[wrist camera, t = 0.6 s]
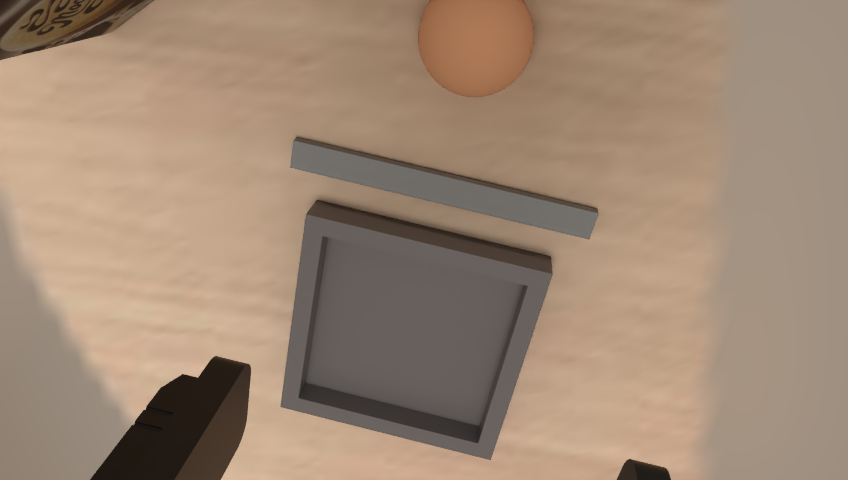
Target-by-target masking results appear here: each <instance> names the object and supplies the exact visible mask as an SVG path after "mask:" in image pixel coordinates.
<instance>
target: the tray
mask: <svg viewBox="0 0 848 480" xmlns="http://www.w3.org/2000/svg"><path fill="white" fill-rule="evenodd" d="M551 277H552V264H551V257H550V256H546V255H542V254H537V253H533V252H529V251H525V250H521V249H517V248H513V247H508V246H504V245H500V244H496V243H492V242H488V241H484V240H480V239H475V238H471V237H467V236H463V235H459V234H455V233H451V232H447V231H442V230H438V229H434V228H430V227H426V226H422V225H418V224H413V223H409V222H405V221H401V220H397V219H393V218H389V217H385V216H380V215H376V214H372V213H368V212H364V211H360V210H356V209H351V208H347V207H343V206H339V205H335V204H331V203H327V202H323V201H318V200H317V201H316V202H315V203H314V205H313V206H312V207H311V209H310V210H309V211H308V213H307V214H306V219H305V227H304V234H303V242H302V249H301V257H300V264H299V272H298V279H297V287H296V294H295V302H294V309H293V317H292V324H291V332H290V339H289V347H288V354H287V362H286V369H285V377H284V384H283V392H282V399H281V407H283V408H287V409H291V410H295V411H299V412H303V413H307V414H310V415H314V416H318V417H322V418H326V419H330V420H334V421H338V422H342V423H346V424H350V425H354V426H358V427H362V428H366V429H370V430H374V431H378V432H382V433H386V434H390V435H393V436H397V437H401V438H405V439H409V440H413V441H417V442H421V443H425V444H429V445H433V446H437V447H441V448H445V449H449V450H453V451H457V452H461V453H465V454H469V455H473V456H477V457H480V458H484V459H488V460H491V457H492V454H493V451H494V448H495V445H496V442H497V439H498V436H499V433H500V430H501V427H502V424H503V421H504V418H505V415H506V412H507V409H508V406H509V403H510V400H511V397H512V394H513V391H514V388H515V385H516V382H517V379H518V376H519V373H520V370H521V367H522V364H523V361H524V358H525V355H526V352H527V349H528V346H529V343H530V340H531V337H532V334H533V331H534V328H535V325H536V322H537V319H538V316H539V313H540V310H541V307H542V304H543V301H544V298H545V295H546V292H547V289H548V286H549V283H550V280H551Z"/></svg>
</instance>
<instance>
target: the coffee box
mask: <svg viewBox="0 0 848 480" xmlns="http://www.w3.org/2000/svg"><path fill="white" fill-rule="evenodd" d="M152 1H153V0H0V60H2V59H6V58H10V57H15V56H19V55H22V54H26V53H31V52H34V51H40V50H44V49H48V48H52V47H56V46H59V45H63V44H67V43H72V42H76V41H80V40H84V39H88V38H92V37H95V36H99V35H104V34H107V33H110V32H112V31H113V30H115V29H116V28H117V27H119V26H120V25H121V24H123V23H124V22H125V21H127V20H128V19H129V18H131V17H132V16H133V15H135V14H136V13H137V12H139V11H140V10H141V9H143V8H144V7H145V6H146V5H148V4H149V3H150V2H152Z"/></svg>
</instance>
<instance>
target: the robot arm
mask: <svg viewBox="0 0 848 480" xmlns="http://www.w3.org/2000/svg"><path fill="white" fill-rule="evenodd" d="M250 376H251V367H250V365H249V364H246V363H242V362H238V361H234V360H230V359H226V358H221V357H217V356H215V357H213V358H212V359H211V360H210V362H209V363H208V365H207V366H206V367H205V369H204V370H203V372H202V373H201V375H200V376H199V377H198V378H196V377H192V376H188V375H184V374H182V375H181V376H179V377H177V378H176V379H174V380H173V381H171V382H169V383H168V384H166V385H165V386H163V387H161V388H160V390H159V391H158V392H157V394H156V395H155V396H154V397H153V399H152V400H151V401H150V403H149V404H148V405H147V408H146V410H143V412H142V413H141V414H140V416H139V417H138V418H137V419H136V421H135V424H134V425H132V426H131V427H130V429H129V430H128V431H127V432H126V434H125V435H124V436H123V438H122V439H121V440H120V442H119V443H118V444H117V446H116V447H115V448H114V449H113V451H112V452H111V453H110V455H109V456H108V457H107V459H106V460H105V461H104V463H103V464H102V465H101V466H100V468H99V469H98V470H97V471H96V473H95V474H94V475H93V477H92V478H91V479H90V480H221V478H222V476H223V474H224V472H225V471H226V469H227V467H228V465H229V463H230V461H231V459H232V458H233V456H234V454H235V452H236V450H237V448H238V446H239V444H240V442H241V439H242V436H243V433H244V430H245V426H246V421H247V411H248V400H249V388H250ZM617 480H671V479H670V475H669V472H668V470H667V469H666V468H664V467H660V466H656V465H652V464H648V463H644V462H640V461H636V460H631V459H628V460H627V461H626V462H625V463H624V465H623V467H622V469H621V472H620V474H619V476H618V478H617Z"/></svg>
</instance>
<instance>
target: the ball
mask: <svg viewBox="0 0 848 480" xmlns="http://www.w3.org/2000/svg"><path fill="white" fill-rule="evenodd" d="M533 40H534V30H533V23H532V19H531V16H530V13H529V11H528V8H527V6H526V5H525V3H524V2H523V0H431V1H430V2H429V4H428V6H427V7H426V9H425V11H424V13H423V16H422V18H421V22H420V26H419V33H418V43H419V50H420V54H421V58H422V60H423V63H424V65H425V67H426V69H427V70H428V72H429V73H430V75H431V76H432V77H433V78H434V79H435V80H436V82H438V83H439V84H440V85H441V86H442V87H444V88H446V89H447V90H449V91H451V92H453V93H455V94H459V95H462V96H468V97H481V96H487V95H491V94H494V93H496V92H499V91H501V90H502V89H504V88H506V87H507V86H509V85H510V84H511V83H512V82H514V81H515V80H516V79H517V78H518V76H519V75H520V74H521V73H522V71H523V70H524V68H525V67H526V65H527V62H528V60H529V58H530V55H531V52H532V47H533Z"/></svg>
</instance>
